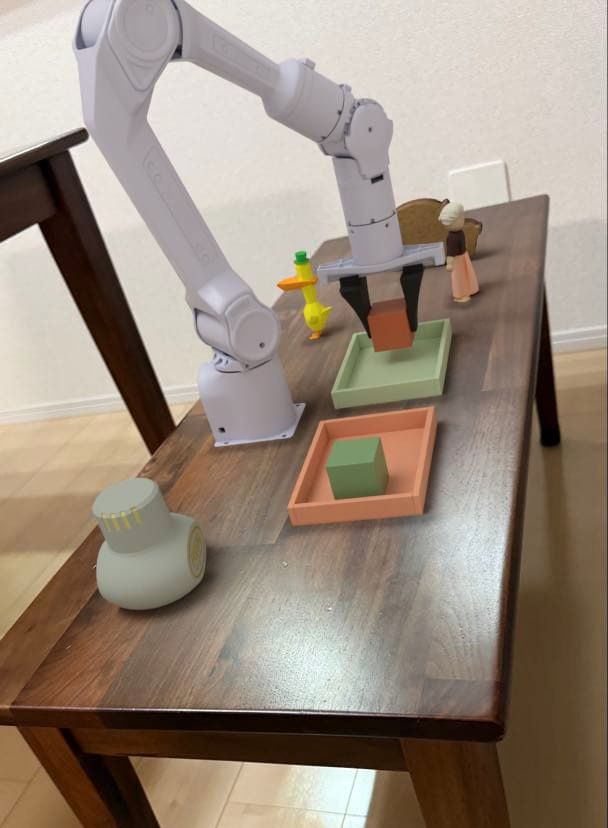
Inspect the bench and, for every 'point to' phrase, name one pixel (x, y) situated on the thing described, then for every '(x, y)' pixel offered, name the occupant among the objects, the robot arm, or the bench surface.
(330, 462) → the sage block
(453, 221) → the grandmother figurine
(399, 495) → the terracotta tray
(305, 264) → the toy figure
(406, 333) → the terracotta block
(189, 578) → the air freshener
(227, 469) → the bench surface
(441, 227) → the wooden carving
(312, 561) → the bench surface
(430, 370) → the sage tray
